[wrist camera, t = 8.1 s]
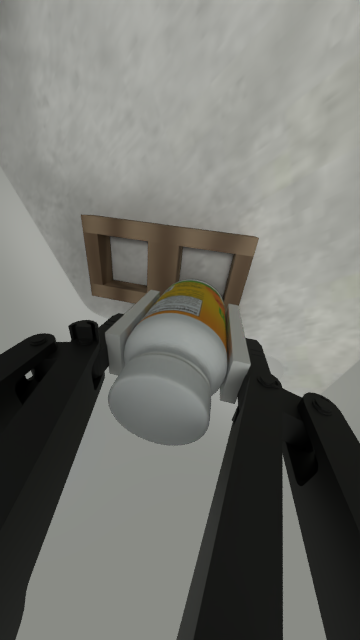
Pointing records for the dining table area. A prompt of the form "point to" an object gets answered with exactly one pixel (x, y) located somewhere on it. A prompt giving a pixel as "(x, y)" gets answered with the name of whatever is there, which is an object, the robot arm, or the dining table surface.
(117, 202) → the dining table surface
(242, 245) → the rack
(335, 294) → the dining table surface
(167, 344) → the supplement bottle
